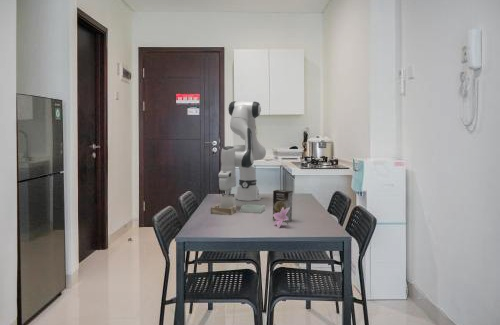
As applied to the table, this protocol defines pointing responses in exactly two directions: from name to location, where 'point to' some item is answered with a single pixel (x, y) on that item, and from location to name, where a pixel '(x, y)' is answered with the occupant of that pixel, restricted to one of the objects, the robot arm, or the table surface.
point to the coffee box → (282, 202)
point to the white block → (228, 201)
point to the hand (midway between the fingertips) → (228, 195)
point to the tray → (253, 208)
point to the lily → (281, 216)
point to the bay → (223, 210)
